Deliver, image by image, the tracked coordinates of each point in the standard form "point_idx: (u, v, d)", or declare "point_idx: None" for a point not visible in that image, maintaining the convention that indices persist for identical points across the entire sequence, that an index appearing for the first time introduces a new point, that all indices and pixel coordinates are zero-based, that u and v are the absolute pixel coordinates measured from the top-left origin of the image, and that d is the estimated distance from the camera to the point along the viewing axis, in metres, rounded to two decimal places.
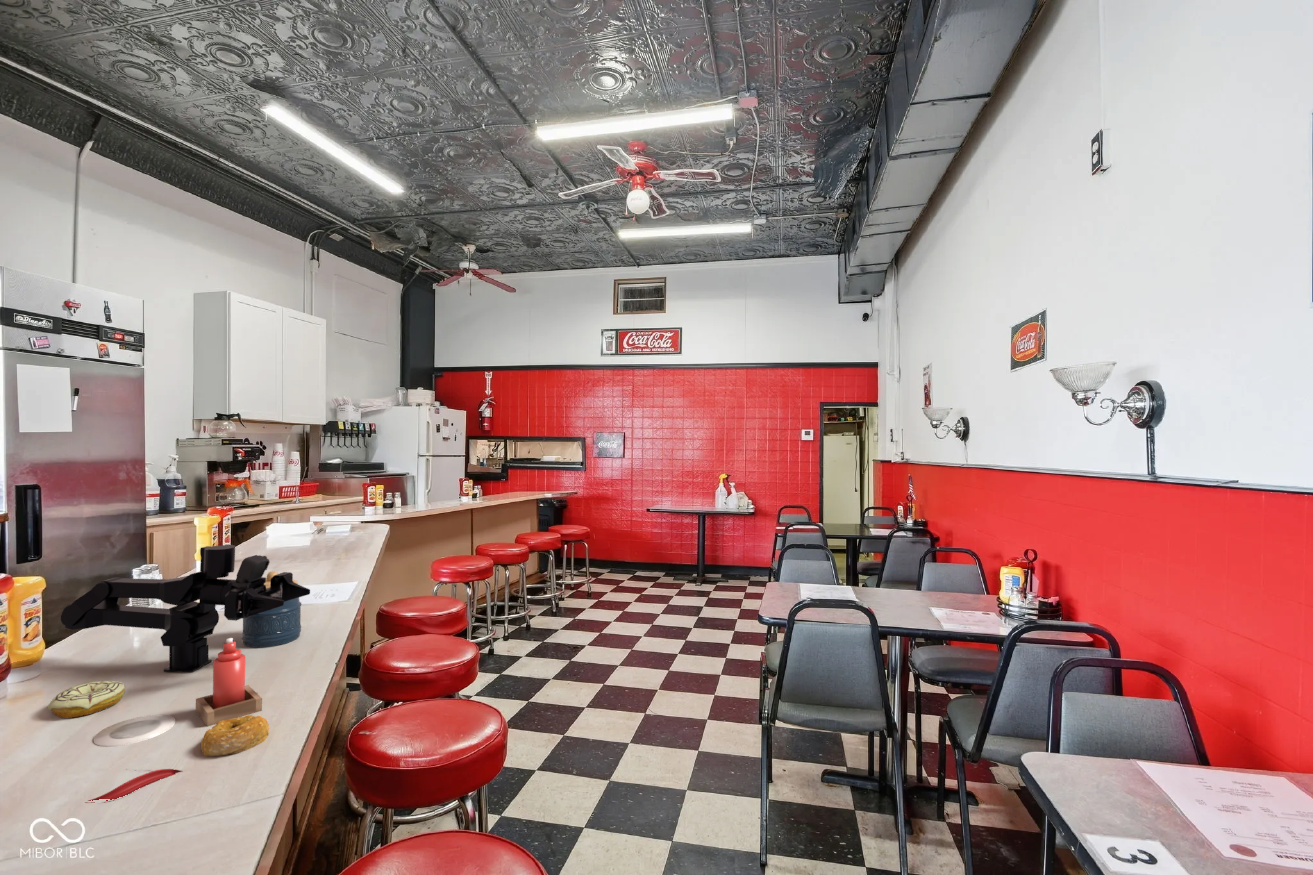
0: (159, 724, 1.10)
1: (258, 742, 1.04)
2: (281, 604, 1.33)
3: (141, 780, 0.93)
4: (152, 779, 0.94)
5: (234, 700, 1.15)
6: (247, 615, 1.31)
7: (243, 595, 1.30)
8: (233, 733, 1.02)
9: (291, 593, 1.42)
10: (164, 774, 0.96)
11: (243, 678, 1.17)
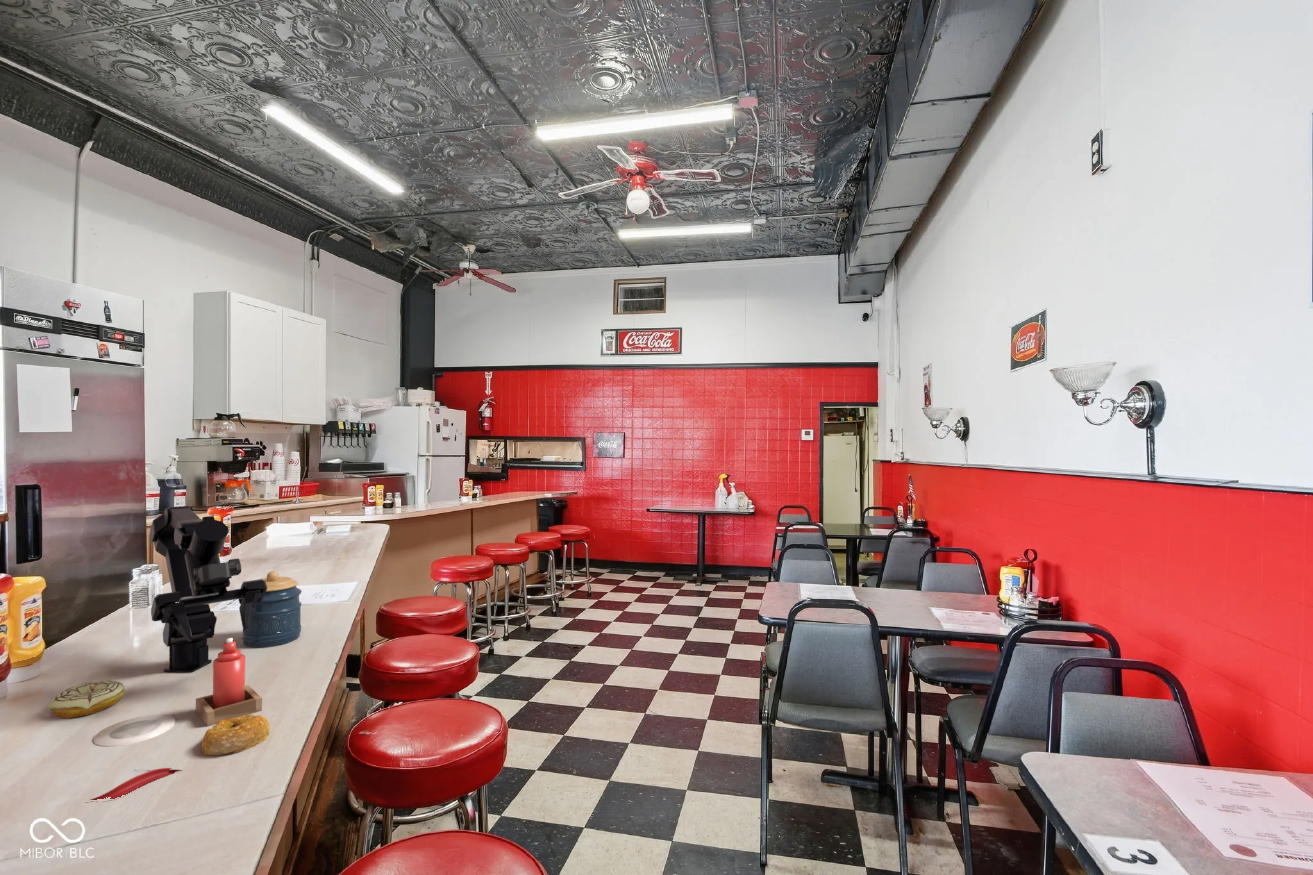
0: (159, 724, 1.10)
1: (258, 741, 1.05)
2: (188, 640, 1.18)
3: (140, 779, 0.93)
4: (151, 778, 0.94)
5: (234, 700, 1.15)
6: (168, 622, 1.21)
7: (165, 608, 1.18)
8: (233, 732, 1.02)
9: (241, 612, 1.28)
10: (163, 773, 0.96)
11: (243, 678, 1.17)
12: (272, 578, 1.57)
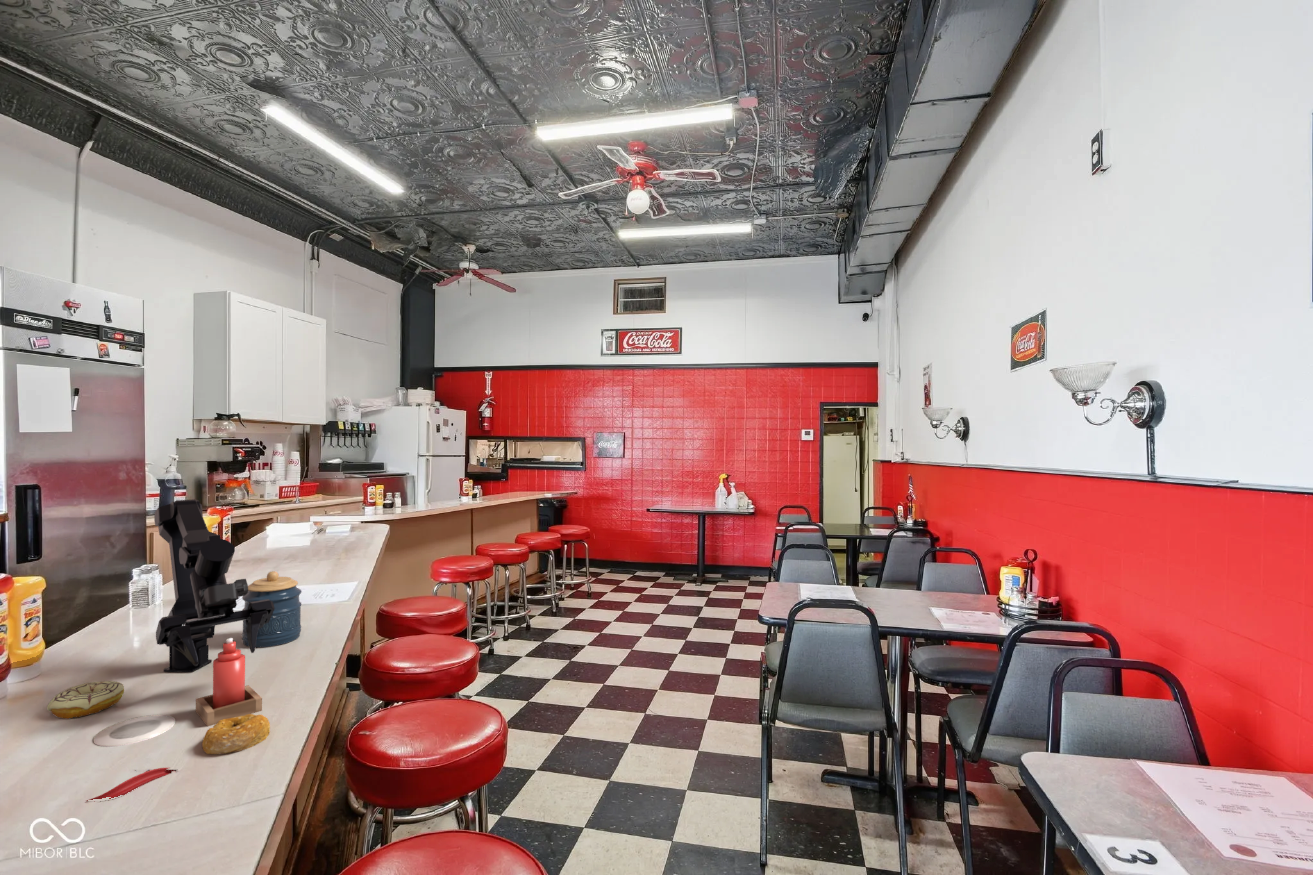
0: (159, 724, 1.10)
1: (259, 740, 1.05)
2: (194, 664, 1.15)
3: (140, 779, 0.94)
4: (150, 778, 0.95)
5: (234, 700, 1.15)
6: (173, 645, 1.17)
7: (170, 632, 1.14)
8: (234, 732, 1.02)
9: (248, 634, 1.24)
10: (162, 773, 0.96)
11: (243, 678, 1.17)
12: (272, 578, 1.57)
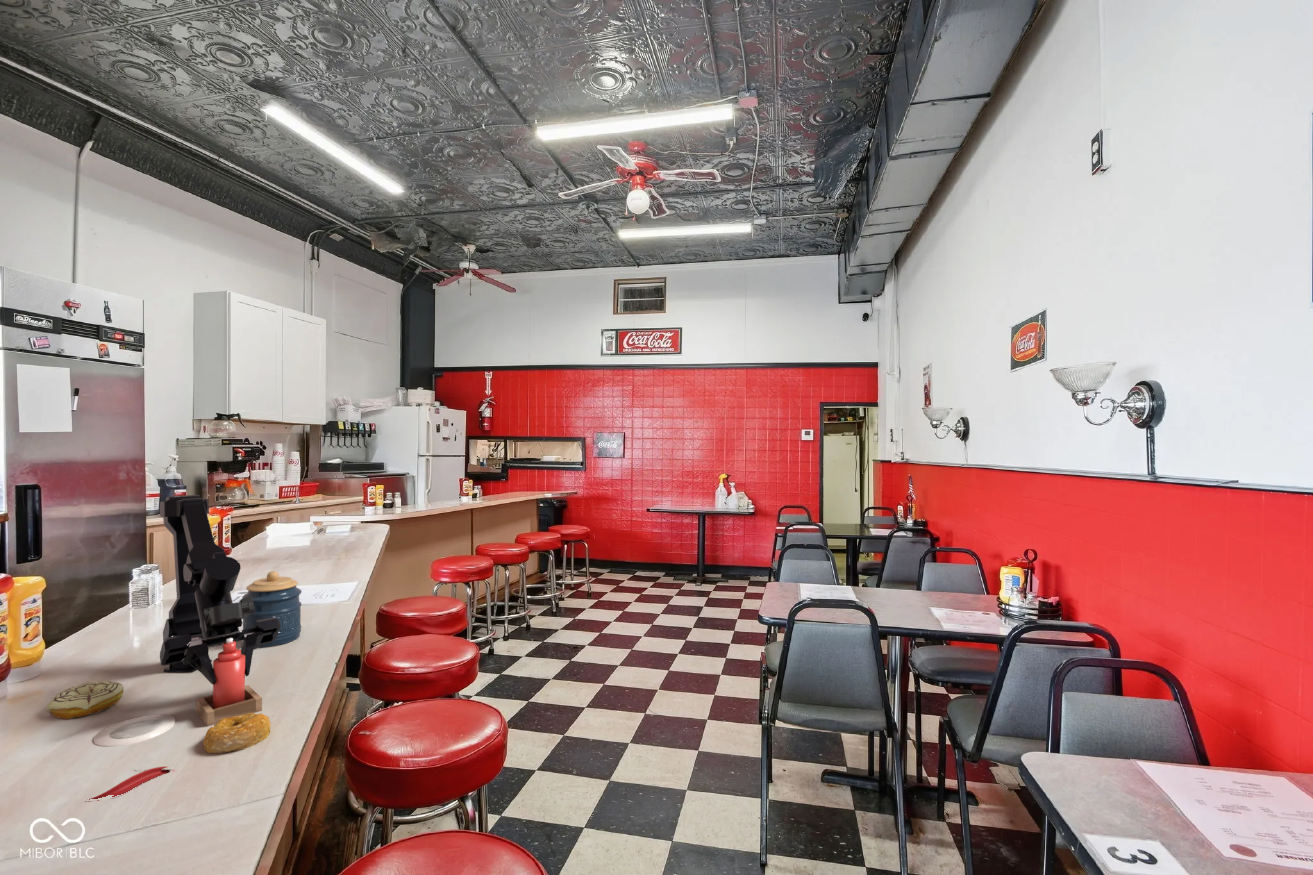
0: (159, 724, 1.10)
1: (260, 739, 1.05)
2: (211, 683, 1.14)
3: (138, 778, 0.94)
4: (149, 777, 0.95)
5: (234, 700, 1.15)
6: (190, 663, 1.16)
7: (187, 650, 1.13)
8: (235, 731, 1.03)
9: None
10: (160, 772, 0.96)
11: (243, 678, 1.17)
12: (272, 578, 1.57)
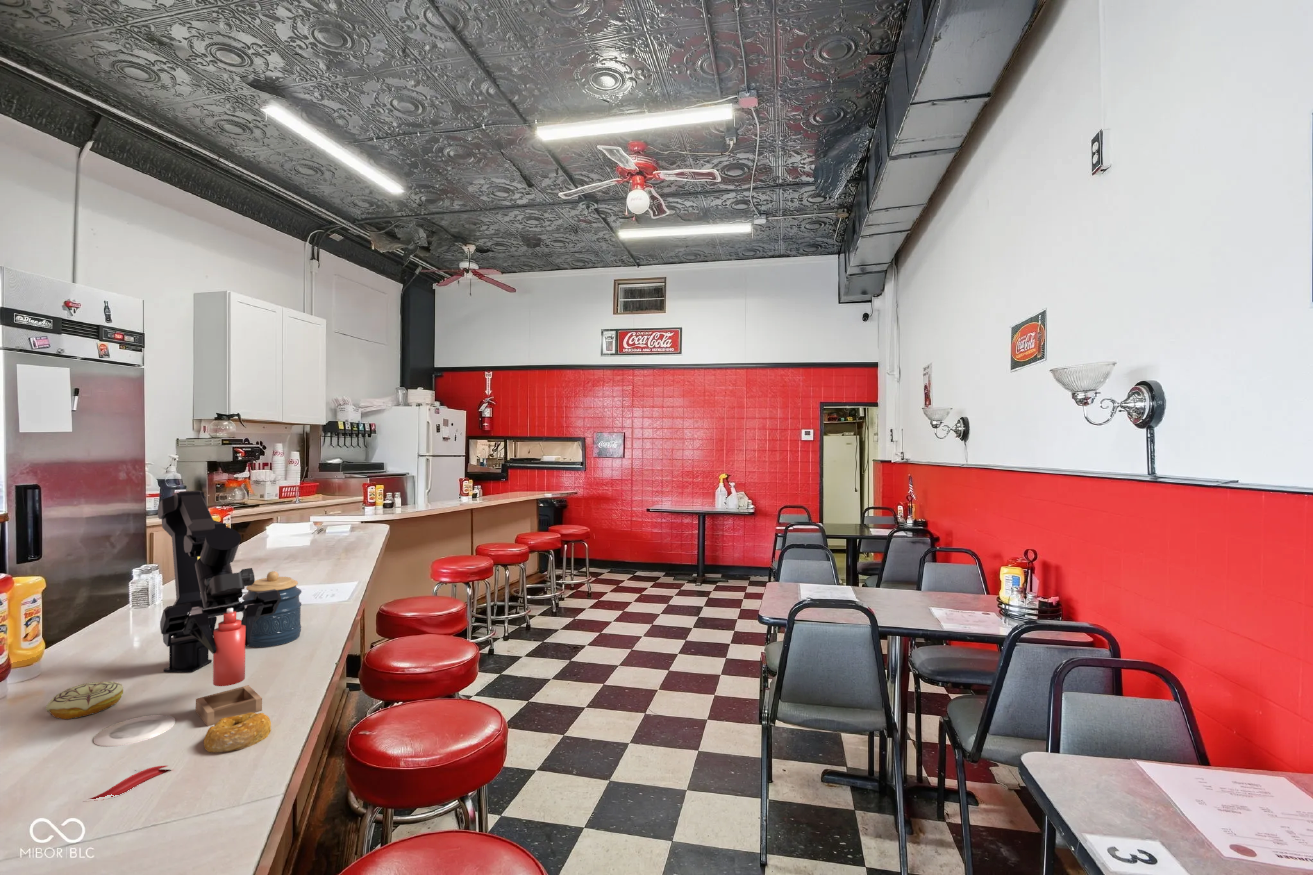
0: (159, 724, 1.10)
1: (261, 739, 1.06)
2: (212, 652, 1.14)
3: (137, 777, 0.94)
4: (148, 776, 0.95)
5: (235, 670, 1.15)
6: (191, 633, 1.16)
7: (188, 619, 1.13)
8: (236, 730, 1.03)
9: None
10: (159, 771, 0.97)
11: (243, 648, 1.17)
12: (272, 578, 1.57)
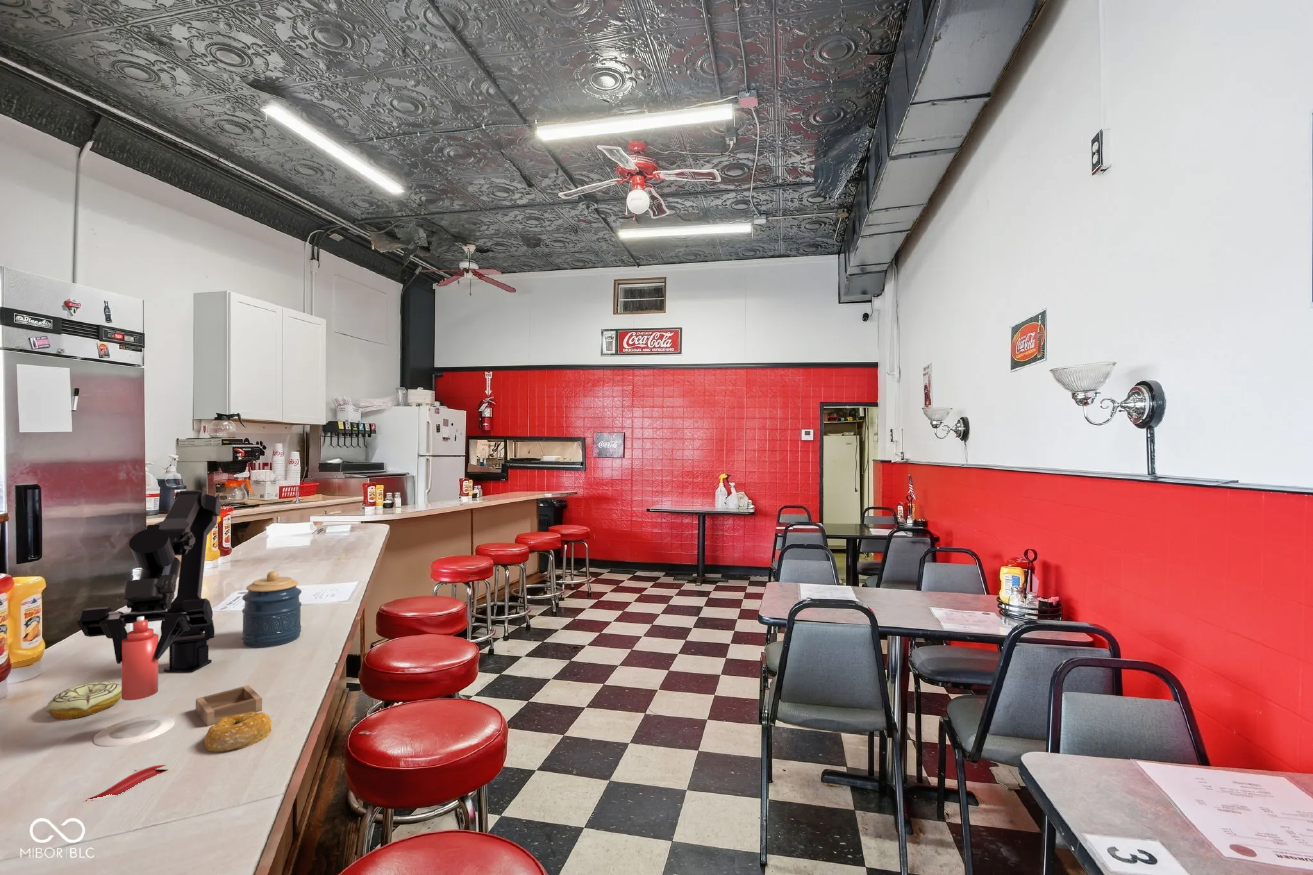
0: (159, 724, 1.10)
1: (261, 738, 1.06)
2: (117, 662, 1.07)
3: (136, 777, 0.94)
4: (147, 775, 0.95)
5: (137, 684, 1.07)
6: None
7: (100, 624, 1.08)
8: (237, 729, 1.03)
9: None
10: (158, 770, 0.97)
11: (151, 661, 1.08)
12: (272, 578, 1.57)
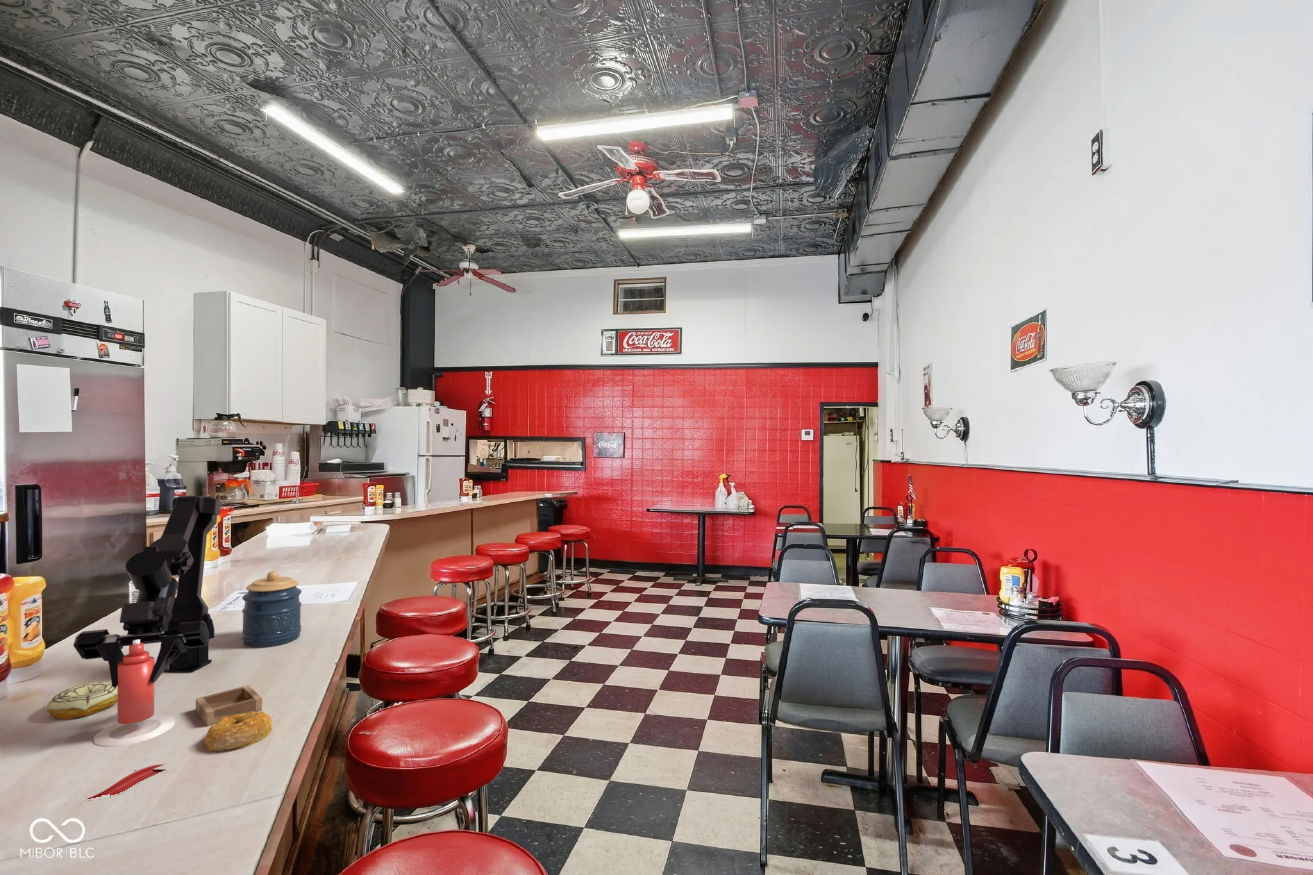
0: (159, 724, 1.10)
1: (262, 737, 1.06)
2: (112, 685, 1.07)
3: (135, 776, 0.94)
4: (146, 775, 0.95)
5: (133, 708, 1.07)
6: None
7: None
8: (237, 728, 1.03)
9: None
10: (156, 770, 0.97)
11: (147, 685, 1.08)
12: (272, 578, 1.57)
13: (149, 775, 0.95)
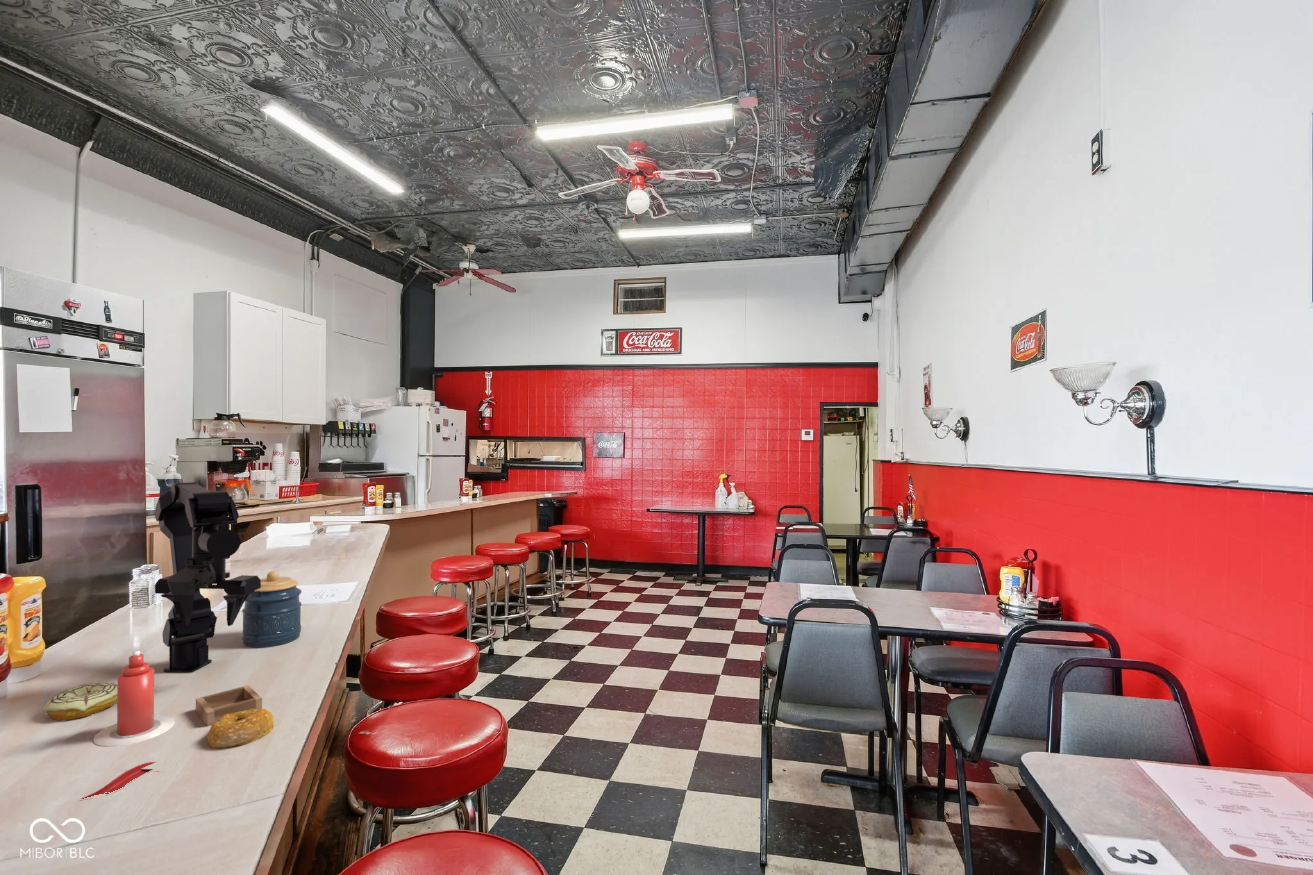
0: (159, 724, 1.10)
1: (264, 734, 1.07)
2: None
3: (129, 774, 0.95)
4: (139, 772, 0.96)
5: (133, 720, 1.07)
6: None
7: None
8: (240, 725, 1.04)
9: None
10: None
11: (146, 696, 1.08)
12: (272, 578, 1.57)
13: (142, 773, 0.96)
